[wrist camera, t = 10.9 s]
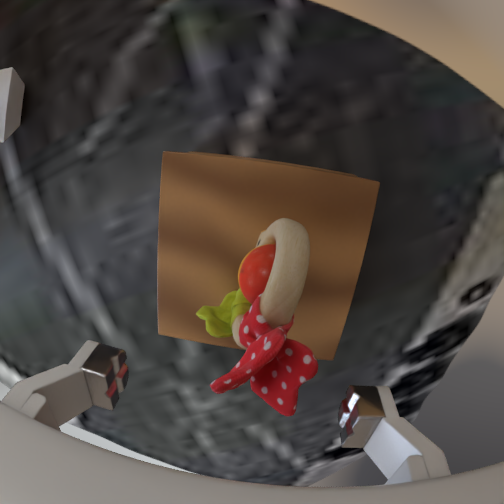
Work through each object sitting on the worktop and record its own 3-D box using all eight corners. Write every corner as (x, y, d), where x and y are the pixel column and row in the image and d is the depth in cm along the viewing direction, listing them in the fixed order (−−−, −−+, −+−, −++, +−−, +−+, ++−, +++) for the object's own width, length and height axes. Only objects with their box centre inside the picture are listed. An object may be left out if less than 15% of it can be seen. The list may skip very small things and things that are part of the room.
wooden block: (188, 147, 25) (162, 151, 19) (358, 171, 24) (380, 182, 19) (179, 298, 29) (158, 334, 24) (325, 320, 29) (332, 360, 23)
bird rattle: (228, 214, 22) (189, 339, 22) (220, 167, 11) (149, 403, 11) (313, 242, 22) (274, 364, 22) (382, 222, 11) (306, 444, 11)
